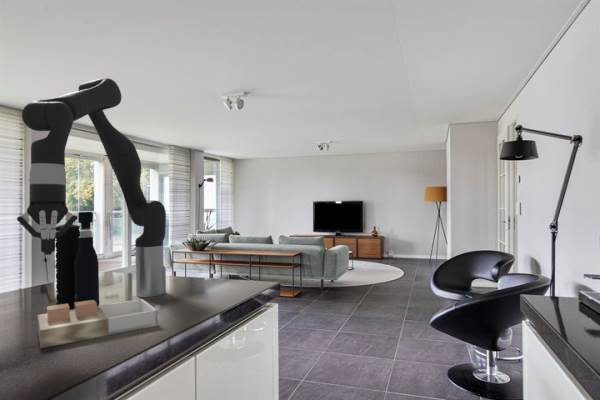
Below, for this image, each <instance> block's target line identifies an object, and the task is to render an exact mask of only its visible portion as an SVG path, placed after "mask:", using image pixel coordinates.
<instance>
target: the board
mask: <svg viewBox="0 0 600 400" xmlns="http://www.w3.org/2000/svg"><path fill="white" fill-rule="evenodd" d="M37 333H38V339H39V347H40V349H44V348H48V347H53V346H58V345H59V346H60V345H65V344H69V343H74V342H79V341H80V342H81V341H85V340H91V339H94V338H95V337H96V338H101V337H106V336H110V335H109V319H108V317H107V316H106V315H105V314H104V312H103V311H102V310H101V309H100V307H99V306H97V315H93V316H87V317H81V318H76V316H75V309H72V310H70V319H68V320H62V321H56V322H50V323H48V321H47V312H46V313H41V314H37ZM96 338H95V339H96Z"/></svg>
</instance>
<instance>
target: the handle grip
mask: <svg viewBox="0 0 600 400" xmlns="http://www.w3.org/2000/svg"><path fill="white" fill-rule="evenodd" d="M64 224H65V223H64ZM64 224H61V225H56V232H57V231H59V230H60V229H61V227H62V226H63V225H64ZM80 229H81V225H78V224H74V223H73V224H72V225H71V226H70V228H69V229H68V230H67V231H66V232H65V233H64V234H63V235H62V236H59V237H57V238H56V239H55V252H56V253H55V259H56V260H55V262H56V263H55V269H56V270H55V272H56V274H55V279H56V280H55V281H56V285H55V287H56V288H55V289H56V297H55V298H56V303H55V305H60V304H67V303H68V305H69V309H70V310H73V309H75V308H74V303H75V259H76V255H77V252H78V249H79V238H80Z"/></svg>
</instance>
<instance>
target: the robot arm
mask: <svg viewBox="0 0 600 400" xmlns="http://www.w3.org/2000/svg"><path fill="white" fill-rule="evenodd" d="M121 101H122V92H121V90H120V87H119V86H118V84H117V83H116V81H115V80H114V79H111V78H109V77H105V78H102V77H101V78H98V79H93V80H90V81H86V82H82V83H81V84H79V86H78V90H77V91H73V92H72V91H71V92H68V93H64V94H62V95H59V96H57V97H54V98H46V99H40V100H34V101H30V102H29V103H27V104H26V105H25V106H24V108H23V109H22V112H21V118H22V121H23V124H24V125H25V126H26V127H27V128H29V129H31V130H32V131H36V132H49V133H48V135H47V136H45V137H43V138H41V139H38V140H37V139H36V140H34V141H32V143H31V146H30V168H29V169H30V170H29V179H28V181H29V199H28V200H29V205H28V207H27V209H26V212H25V213H23V214H21V215H20V216H17V217H16V220H17V221H18V223H20V225H22V226H23V228H24V229H25V230H26V231H27V232H28V233H29V234H30V235H31V236H32V237H34V238H37V239H38V238H39V239H40V251H41V252H42V253H43V254H44V256H47V255H52V253H55V252H56V247H55V244H56V241H55V240H56V238H57V237H59V236H62V235H63V234H64V233H65V232H66V231H67V230H68V229H69V228H70V226H71V225H72V224H73V225H74V223H75V222H76V221H77V219H78V216H77V215H76V214H73V213H71V212H69V208H68V206H67V190H66V189H67V172H66V167H65V165H66V159H65V158H66V157H65V156H66V153H65V152H66V148H67V143H68V139H69V136H70V133H71V130H72V127H73V124H74V122H75V121H78V120H80V119H82V118H83V117H85V116H87V115H88V117H89V119H90V122H91V123H92V124H93V127H94V129H95V131H96V133H97V135H98V138H99V139H100V142H101V143H102V146H103V149H104V152H105V153H106V154H105V155H106V157H107V159H108V161H109V164H110V166H111V169H112V171H113V172H114V175H115V177H116V180H117V182H118V185H119V187H120V189H121V193H122V195H123V198H124V200H125V201H124V202H125V205H126V208H127V211H128V214H129V217H130V219H131V221H132V223H133V224H134V225H136V226H137V227H138V226H139V227H143V231H142V233H141V235H140V236H138V237H137V238H136V239H135V243H134V244H135V276H136V277H135V286H136V287H135V290H136V291H135V292H136V297H138V298H152V297H157V296H158V297H159V296H162V295H166V294H167V283H166V282H167V280H166V278H167V274H166V266H164V265H165V263H164V262H165V261H164V258H165V257H164V240H165V238H166V226H167V225H166V224H167V212H166V211H167V210H166V208H165V205H163V203H162V202H161V201H160V200H155V199H154V200H152V199H151V200H147V199H146V197H145V195H144V192H143V189H142V186H141V175H142V162H141V158H140V156H139V153H138V150H137V148H136V146H135V145H134V143H133V142H132V141H131V140H130V139H129V138H128V137H127V136H126V135H124V134H123V133H122V132H120V131H119V130H118V129H116V127H115V126H114V125H113V124H112V123H111V122H110V120H109V119H108V118H107V116H106V114H105V112H104V111H105V110H110V109H113V108H115V107H117V106H119V104H120V103H121ZM29 216H30V218H31V219H32V220H33V221H34V222H35V223H36V224H37V225H39V231H37V230H36V229H34V227H33V226H32V225H31V224H30V223H29V222H30V220H31V219H30V218H29ZM64 217H65V223H64V225H63V224H62V225H63V226H62V227H61V229H60V230H59V231H57V232H56V227H57V224H60V222H61V221H62V220H63V219H64ZM47 225H49V226H48V227H49V229H47ZM47 230H49V231H47ZM42 253H41V254H42Z"/></svg>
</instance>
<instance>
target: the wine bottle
mask: <svg viewBox="0 0 600 400" xmlns="http://www.w3.org/2000/svg"><path fill="white" fill-rule="evenodd" d="M77 214H78V216H77V219H78V224H80V229H81V231H80V230H79V231H80V237H79V249H78V252H77V255H76V259H75V302H82V301H89V300H95V302H96V303H97V306H99V305H100V278H99V277H100V276H99V269H100V268H99V260H98V259H99V258H98V255H97V252H96V249H95V246H94V236H93V232H92V230H91V223H93V222H94V219H93V217H94V216H93V214H94V213H93V211H78V212H77Z"/></svg>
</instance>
